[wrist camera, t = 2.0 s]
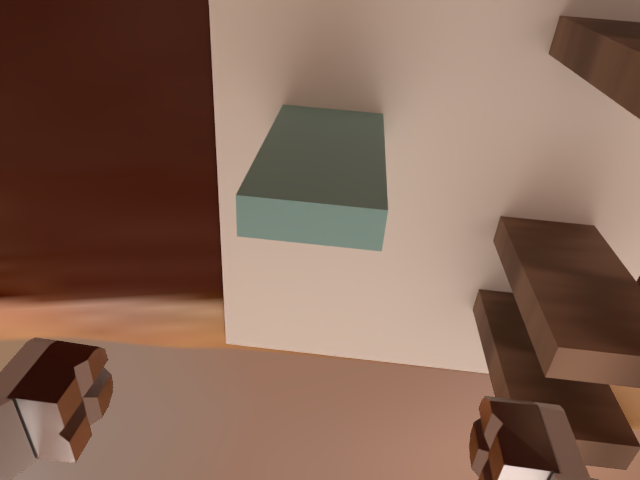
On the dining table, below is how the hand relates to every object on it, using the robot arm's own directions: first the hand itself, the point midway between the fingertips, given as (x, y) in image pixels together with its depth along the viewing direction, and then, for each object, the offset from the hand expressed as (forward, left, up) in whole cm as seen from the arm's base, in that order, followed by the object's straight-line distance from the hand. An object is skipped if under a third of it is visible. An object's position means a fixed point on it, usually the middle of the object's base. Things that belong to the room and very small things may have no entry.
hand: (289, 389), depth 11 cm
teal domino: (0, 0, -17) cm, 17 cm away
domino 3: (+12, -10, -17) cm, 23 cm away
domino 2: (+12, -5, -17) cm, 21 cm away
